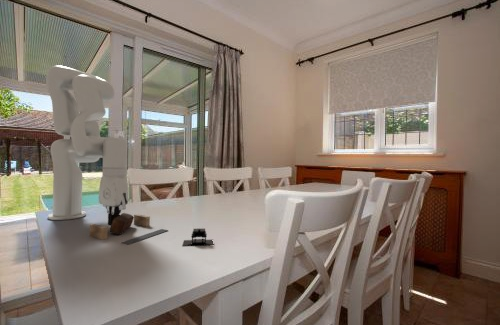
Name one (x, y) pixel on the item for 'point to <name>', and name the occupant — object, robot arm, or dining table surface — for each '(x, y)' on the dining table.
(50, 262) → the dining table surface
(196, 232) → the black arch bracket
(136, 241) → the dark grey flat strip
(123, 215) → the brick
